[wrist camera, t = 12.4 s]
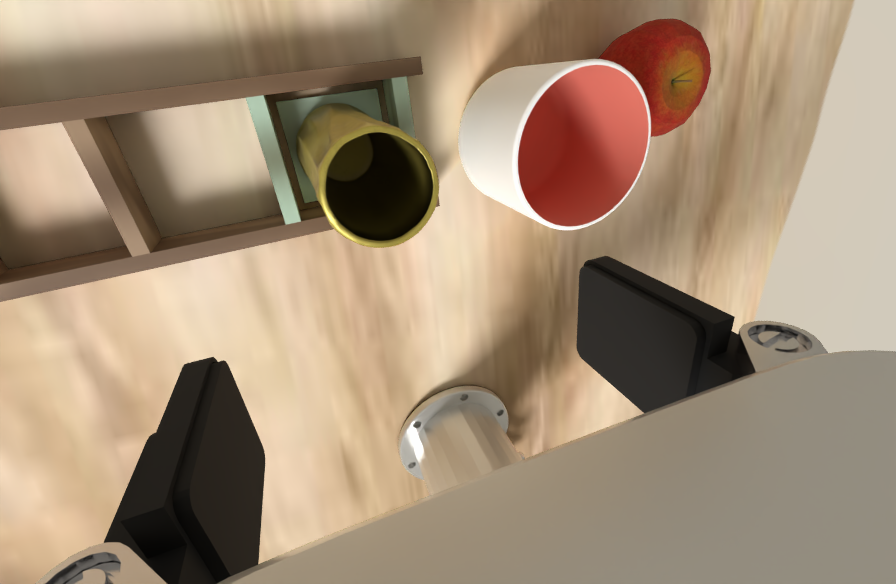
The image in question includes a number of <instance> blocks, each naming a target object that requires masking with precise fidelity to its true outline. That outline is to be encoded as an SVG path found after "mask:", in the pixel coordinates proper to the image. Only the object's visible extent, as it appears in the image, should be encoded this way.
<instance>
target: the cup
mask: <svg viewBox="0 0 896 584" xmlns="http://www.w3.org/2000/svg"><path fill="white" fill-rule="evenodd" d="M650 137H651V117H650V110H649V105H648V102H647V98H646V96H645V93H644V91H643V89H642V87H641V85H640V84H639V82H638V81H637V80H636V78H635V77H634V76H633V75H632V74H631V73H630V72H629V71H628V70H626V69H625V68H623V67H622V66H621V65H619V64H616V63H614V62H611V61H608V60H603V59H587V60H577V61H567V62H557V63H547V64H537V65H527V66H517V67H512V68H508V69H505V70H502V71H500V72H498V73H496V74H494V75H493V76H491V77H490V78H488V79H487V80H486V81H485V82H484V83H482V85H481V86H480V87H479V88H478V89H477V90H476V91H475V93H474V94H473V95H472V97H471V98H470V100H469V102H468V104H467V106H466V108H465V110H464V113H463V115H462V119H461V122H460V128H459V135H458V146H459V154H460V159H461V162H462V165H463V168H464V170H465V172H466V174H467V176H468V177H469V179H470V181H471V182H472V183H473V184H474V185H475V186H476V188H478V189H479V190H480V191H481V192H482V193H484V194H485V195H487V196H489V197H491V198H493V199H495V200H497V201H499V202H500V203H502V204H504V205H506V206H508V207H510V208H512V209H514V210H516V211H518V212H520V213H522V214H524V215H526V216H528V217H530V218H532V219H534V220H536V221H537V222H539V223H541V224H543V225H545V226H548V227H550V228H554V229H558V230H575V229H581V228H584V227H587V226H590V225H592V224H595V223H596V222H598V221H600V220H602V219H603V218H605V217H606V216H608V215H609V214H610V213H611V212H613V211H614V210H615V209H616V208H617V207H618V206H619V205H620V204H621V203H622V202H623V201H624V199H625V198H626V197H627V196H628V194H629V193H630V191H631V190H632V189H633V187H634V185H635V184H636V182H637V180H638V178H639V176H640V174H641V172H642V169H643V167H644V164H645V161H646V158H647V154H648V150H649V145H650Z"/></svg>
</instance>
